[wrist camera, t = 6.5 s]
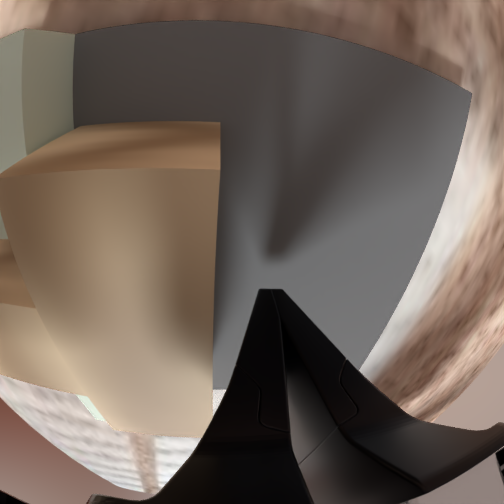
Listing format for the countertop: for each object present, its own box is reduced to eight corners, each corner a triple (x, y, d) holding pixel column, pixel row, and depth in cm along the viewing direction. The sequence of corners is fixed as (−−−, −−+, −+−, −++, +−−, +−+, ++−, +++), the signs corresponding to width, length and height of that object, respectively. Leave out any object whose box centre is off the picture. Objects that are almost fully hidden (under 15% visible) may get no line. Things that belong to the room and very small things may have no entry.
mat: (458, 89, 7) (472, 93, 7) (348, 368, 16) (352, 379, 16) (-14, 68, 5) (-28, 71, 4) (70, 364, 14) (66, 375, 13)
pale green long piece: (75, 34, 5) (24, 28, 3) (136, 385, 14) (131, 425, 12) (21, 50, 5) (-33, 55, 3) (103, 381, 14) (96, 419, 12)
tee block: (220, 122, 7) (220, 169, 4) (210, 357, 13) (213, 437, 9) (-28, 146, 6) (-103, 199, 3) (40, 340, 11) (17, 405, 8)
